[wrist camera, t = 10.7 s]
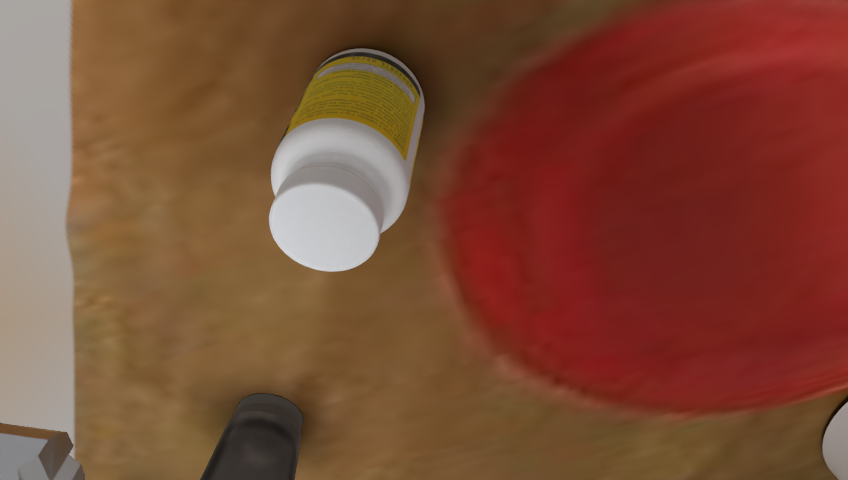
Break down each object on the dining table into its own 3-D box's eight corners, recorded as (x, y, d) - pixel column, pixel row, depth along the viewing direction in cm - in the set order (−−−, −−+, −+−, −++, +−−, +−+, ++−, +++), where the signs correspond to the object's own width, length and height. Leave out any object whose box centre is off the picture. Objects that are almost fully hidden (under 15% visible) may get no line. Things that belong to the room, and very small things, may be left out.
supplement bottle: (297, 48, 32) (230, 168, 24) (418, 40, 31) (389, 160, 23) (321, 154, 35) (270, 288, 27) (431, 148, 34) (410, 285, 27)
